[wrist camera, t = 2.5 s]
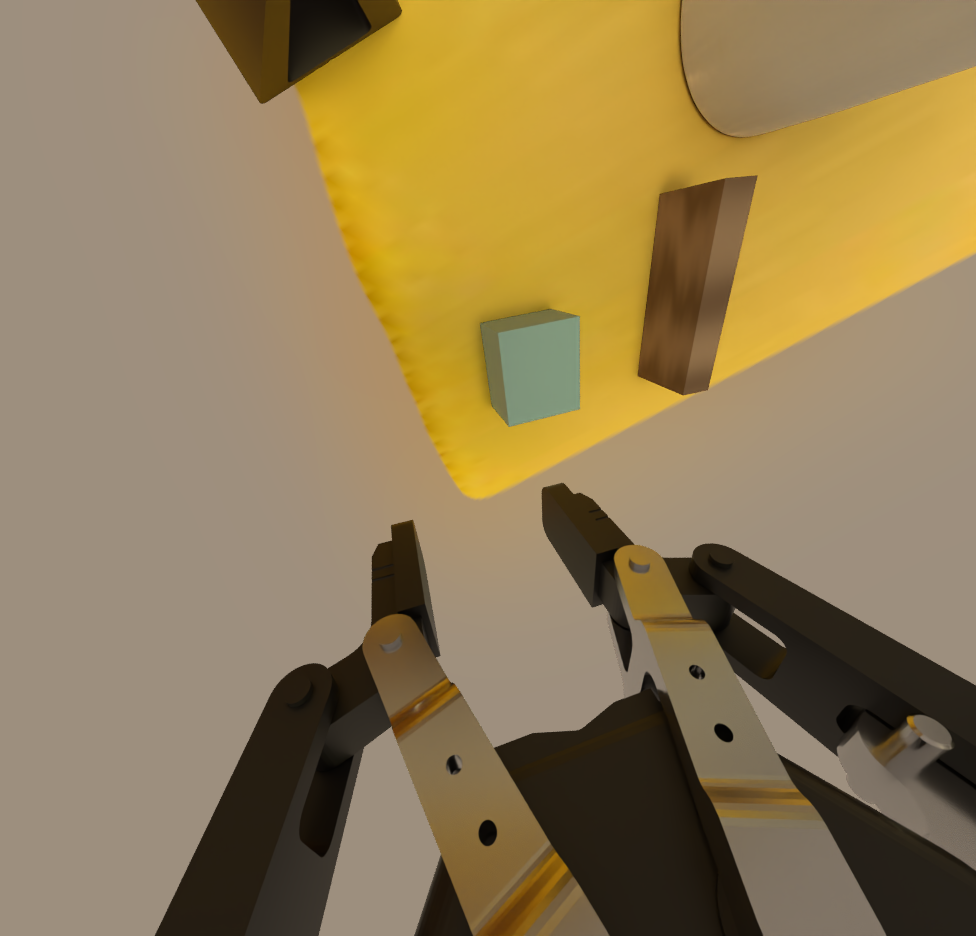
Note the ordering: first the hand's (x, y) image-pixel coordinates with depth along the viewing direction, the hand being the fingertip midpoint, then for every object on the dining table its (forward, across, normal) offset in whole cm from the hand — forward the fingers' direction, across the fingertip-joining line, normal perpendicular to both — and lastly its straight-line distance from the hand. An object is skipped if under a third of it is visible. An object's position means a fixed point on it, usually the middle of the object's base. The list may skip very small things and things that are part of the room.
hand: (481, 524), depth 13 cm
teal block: (+20, -8, 0) cm, 21 cm away
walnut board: (+19, -22, -4) cm, 29 cm away
